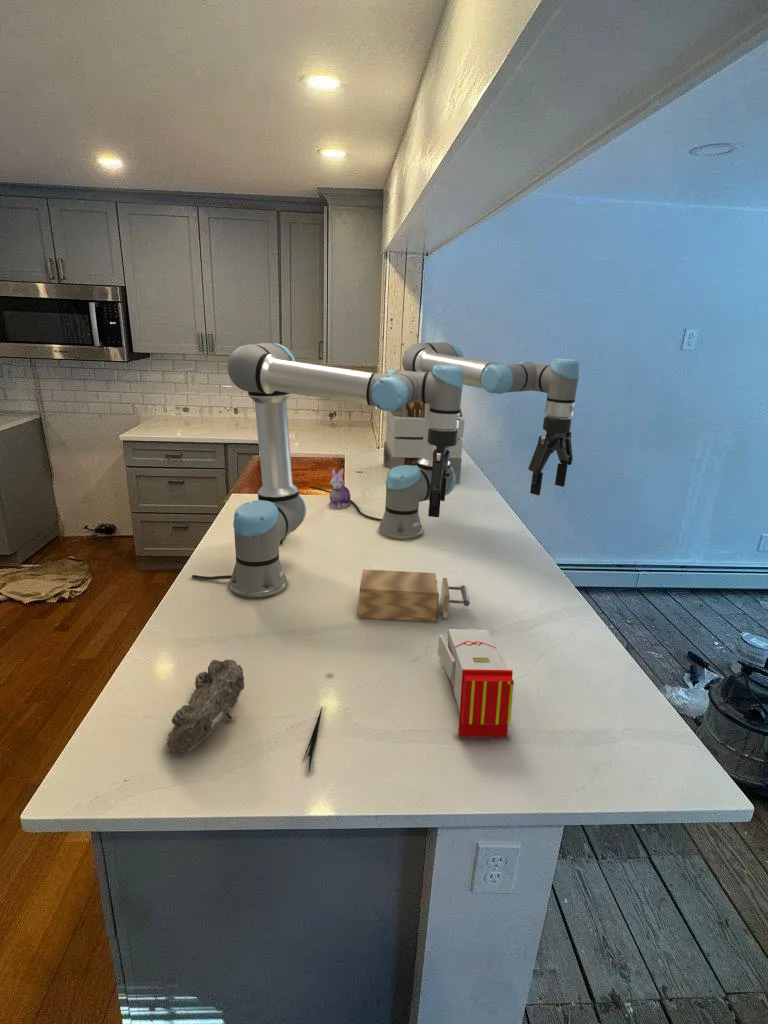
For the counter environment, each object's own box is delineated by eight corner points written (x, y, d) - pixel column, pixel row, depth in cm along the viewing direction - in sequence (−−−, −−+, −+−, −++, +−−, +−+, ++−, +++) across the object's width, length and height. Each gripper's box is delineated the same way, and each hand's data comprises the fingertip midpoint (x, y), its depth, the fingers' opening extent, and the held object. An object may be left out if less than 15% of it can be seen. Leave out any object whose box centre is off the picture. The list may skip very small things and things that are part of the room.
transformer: (382, 463, 289) (386, 382, 275) (445, 464, 293) (451, 384, 279) (390, 482, 257) (394, 392, 243) (460, 483, 261) (468, 394, 247)
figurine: (333, 510, 219) (334, 473, 214) (323, 502, 227) (324, 466, 222) (355, 507, 223) (356, 471, 218) (345, 500, 232) (346, 464, 227)
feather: (331, 679, 122) (336, 673, 122) (307, 777, 96) (313, 769, 95) (324, 675, 122) (329, 669, 121) (298, 772, 95) (304, 764, 95)
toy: (488, 613, 130) (523, 677, 101) (484, 667, 133) (517, 744, 104) (435, 612, 130) (455, 676, 101) (432, 666, 133) (451, 743, 103)
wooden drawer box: (433, 600, 155) (435, 573, 152) (435, 622, 145) (438, 592, 142) (361, 596, 155) (362, 569, 153) (358, 617, 145) (359, 588, 142)
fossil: (192, 660, 117) (244, 628, 112) (224, 691, 120) (276, 661, 115) (142, 746, 98) (202, 712, 93) (182, 779, 101) (242, 748, 96)
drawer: (464, 600, 154) (466, 579, 152) (468, 619, 145) (471, 597, 142) (377, 595, 154) (378, 574, 152) (376, 614, 145) (377, 591, 143)
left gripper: (453, 440, 131) (446, 525, 138) (461, 421, 154) (455, 495, 161) (421, 437, 132) (415, 522, 139) (434, 418, 155) (428, 492, 162)
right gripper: (546, 423, 146) (535, 501, 154) (592, 414, 163) (580, 485, 170) (521, 419, 151) (512, 494, 159) (568, 410, 168) (557, 479, 175)
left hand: (436, 508), depth 150 cm, fingers open, 13 cm apart
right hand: (547, 489), depth 164 cm, fingers open, 13 cm apart
